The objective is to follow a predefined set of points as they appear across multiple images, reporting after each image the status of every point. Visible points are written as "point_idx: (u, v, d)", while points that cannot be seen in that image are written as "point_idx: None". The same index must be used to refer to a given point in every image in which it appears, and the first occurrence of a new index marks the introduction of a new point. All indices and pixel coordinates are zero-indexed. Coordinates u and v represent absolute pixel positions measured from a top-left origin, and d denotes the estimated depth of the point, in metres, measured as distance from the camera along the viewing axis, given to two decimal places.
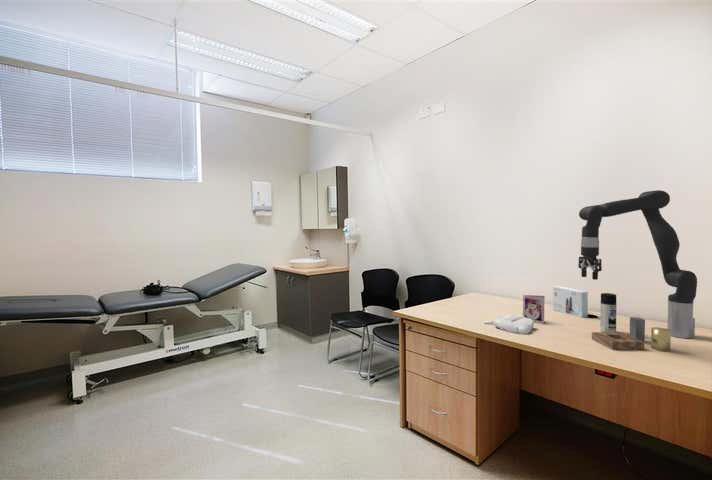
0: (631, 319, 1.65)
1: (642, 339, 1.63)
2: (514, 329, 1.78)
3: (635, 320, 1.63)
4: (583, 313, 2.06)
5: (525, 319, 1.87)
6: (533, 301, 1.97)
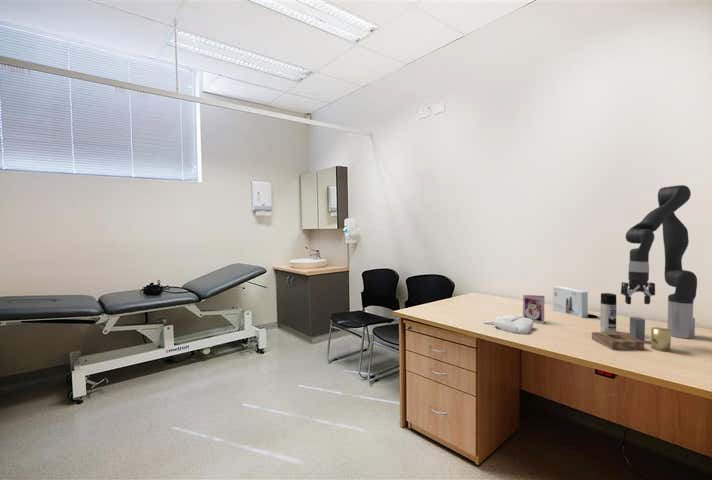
0: (631, 319, 1.65)
1: (642, 339, 1.63)
2: (514, 329, 1.79)
3: (635, 320, 1.63)
4: (583, 313, 2.06)
5: (524, 319, 1.87)
6: (533, 301, 1.97)
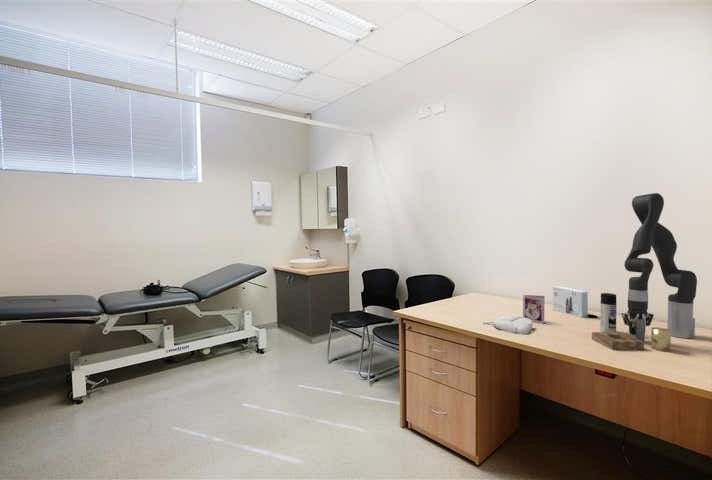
0: (631, 319, 1.65)
1: (642, 339, 1.63)
2: (513, 329, 1.78)
3: None
4: (583, 313, 2.06)
5: (523, 319, 1.87)
6: (533, 301, 1.97)
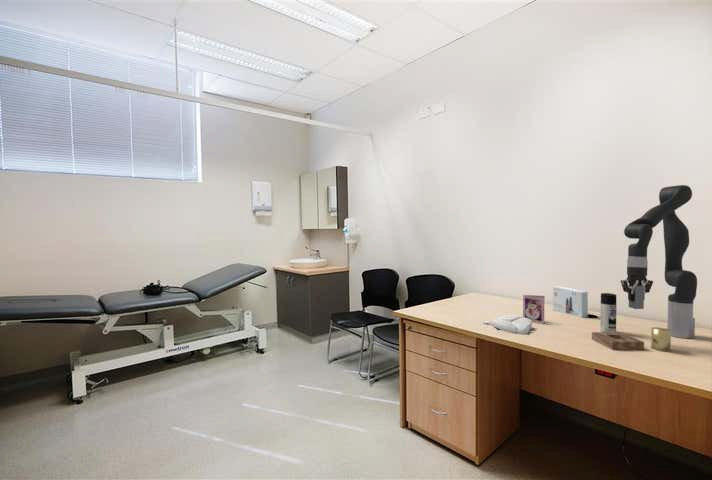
0: None
1: (641, 306, 1.62)
2: (513, 329, 1.78)
3: None
4: (583, 313, 2.06)
5: (523, 319, 1.87)
6: (533, 301, 1.97)
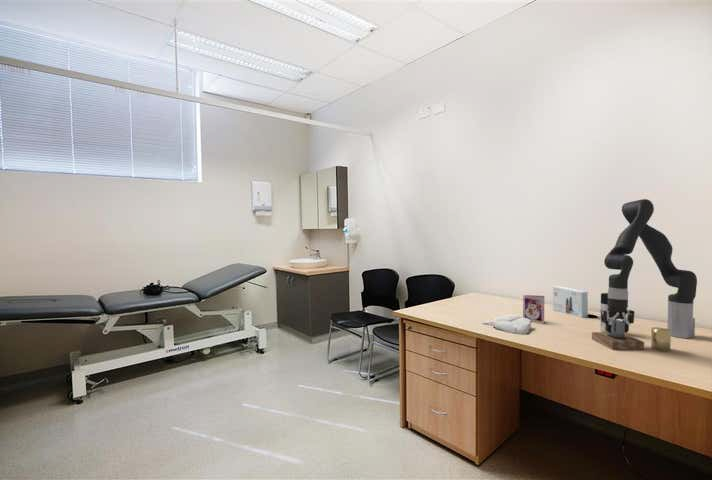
0: None
1: None
2: (513, 329, 1.78)
3: (615, 323, 1.58)
4: (583, 313, 2.06)
5: (522, 319, 1.87)
6: (533, 301, 1.97)
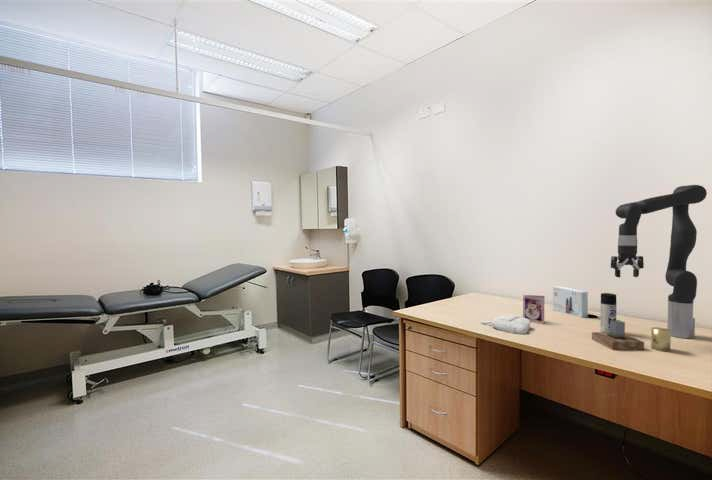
0: (611, 322, 1.61)
1: None
2: (512, 329, 1.78)
3: (615, 323, 1.58)
4: (583, 313, 2.06)
5: (521, 319, 1.88)
6: (533, 301, 1.97)
